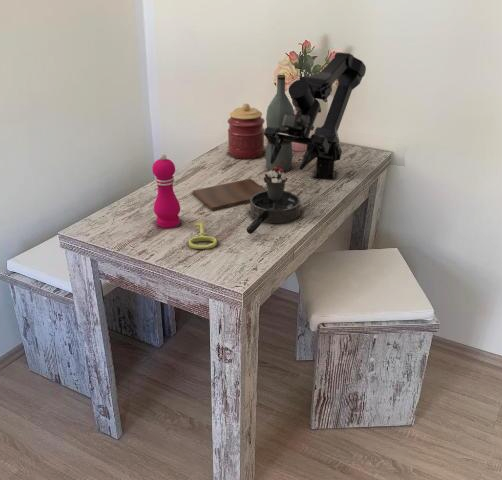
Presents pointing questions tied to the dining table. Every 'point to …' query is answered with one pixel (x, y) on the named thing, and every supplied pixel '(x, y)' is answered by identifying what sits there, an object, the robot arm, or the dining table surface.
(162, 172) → the pepper mill
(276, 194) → the sundae
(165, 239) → the dining table surface
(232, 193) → the walnut board
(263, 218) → the skillet handle
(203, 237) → the key
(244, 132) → the kitchen canister
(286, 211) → the skillet
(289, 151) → the bottle
